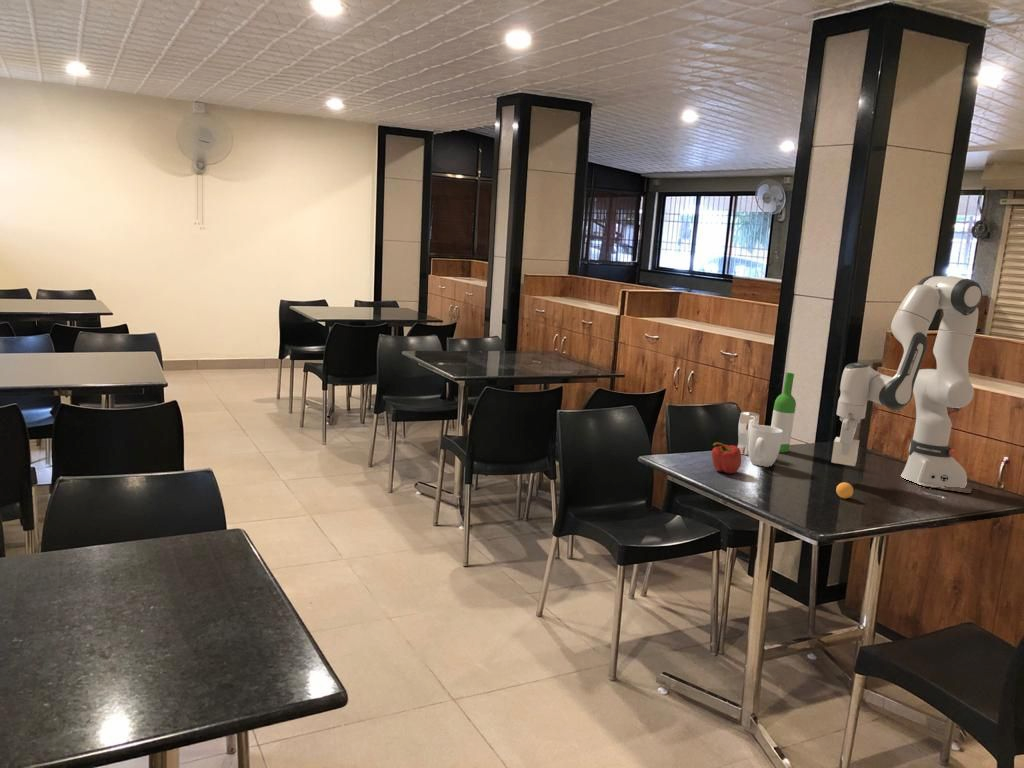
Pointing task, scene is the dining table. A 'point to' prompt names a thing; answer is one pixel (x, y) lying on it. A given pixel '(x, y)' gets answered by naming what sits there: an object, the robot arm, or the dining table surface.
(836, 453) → the white cube
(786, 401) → the wine bottle
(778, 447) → the mug
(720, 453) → the vegetable
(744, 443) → the beer glass
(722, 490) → the dining table surface
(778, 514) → the dining table surface
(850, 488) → the ball
